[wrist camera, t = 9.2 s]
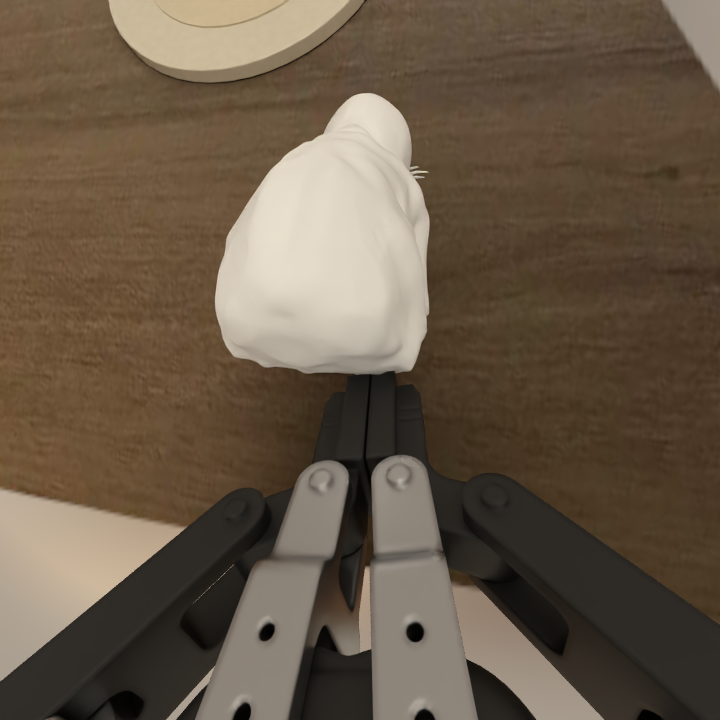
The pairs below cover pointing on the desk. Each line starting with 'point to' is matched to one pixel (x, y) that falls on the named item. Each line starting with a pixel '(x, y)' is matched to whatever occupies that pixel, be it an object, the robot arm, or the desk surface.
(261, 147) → the desk surface
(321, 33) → the plate
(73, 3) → the desk surface
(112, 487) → the desk surface
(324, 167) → the white animal figurine
